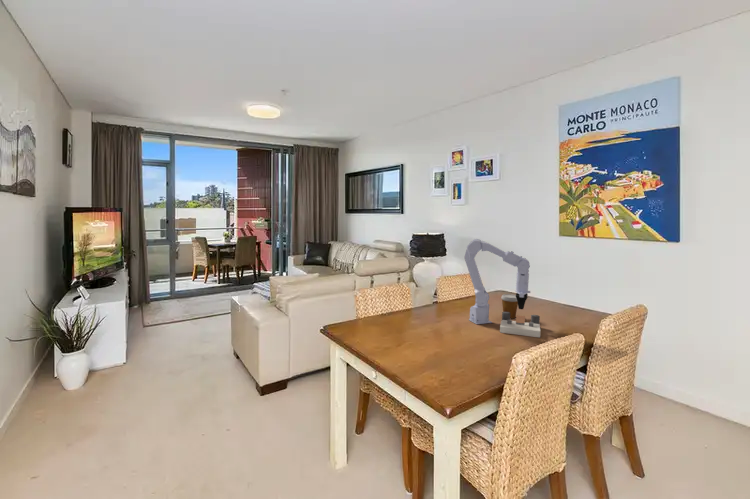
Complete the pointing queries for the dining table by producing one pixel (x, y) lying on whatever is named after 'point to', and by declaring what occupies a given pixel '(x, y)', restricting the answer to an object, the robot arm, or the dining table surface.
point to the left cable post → (505, 315)
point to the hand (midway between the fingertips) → (521, 308)
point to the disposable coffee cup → (510, 304)
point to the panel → (520, 328)
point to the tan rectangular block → (520, 320)
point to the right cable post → (535, 319)
